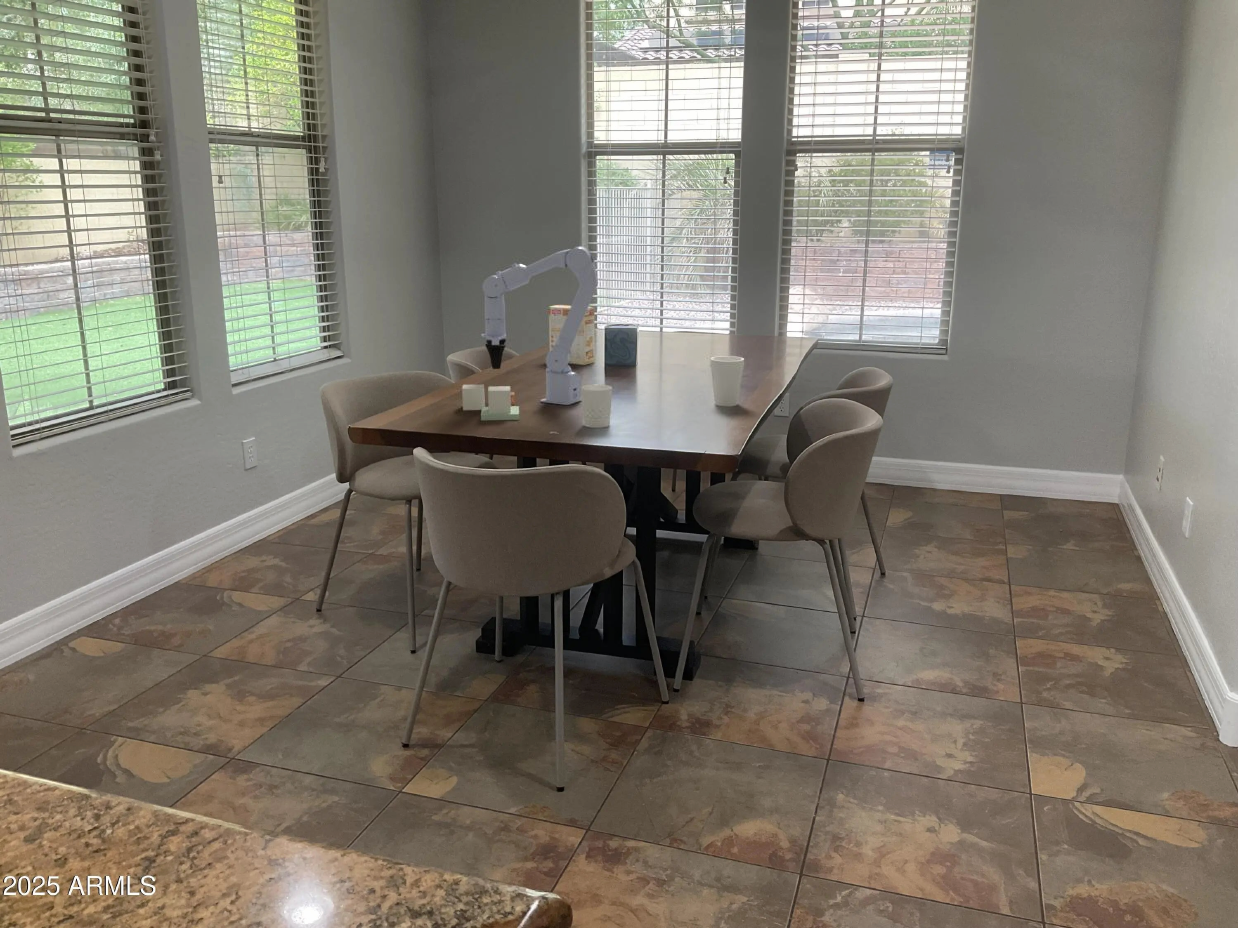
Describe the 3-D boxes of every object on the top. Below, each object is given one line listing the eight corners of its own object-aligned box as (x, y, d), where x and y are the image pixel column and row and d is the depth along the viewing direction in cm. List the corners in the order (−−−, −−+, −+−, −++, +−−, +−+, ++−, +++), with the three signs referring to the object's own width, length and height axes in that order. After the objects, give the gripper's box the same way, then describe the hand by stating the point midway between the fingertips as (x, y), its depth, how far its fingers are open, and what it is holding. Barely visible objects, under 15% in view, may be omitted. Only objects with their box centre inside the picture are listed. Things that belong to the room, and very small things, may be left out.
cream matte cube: (510, 407, 272) (510, 386, 271) (510, 412, 267) (510, 390, 265) (489, 408, 272) (488, 386, 270) (488, 413, 266) (488, 390, 264)
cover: (484, 405, 282) (484, 384, 281) (484, 409, 277) (483, 388, 275) (464, 405, 282) (463, 384, 280) (463, 410, 276) (462, 388, 275)
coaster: (518, 411, 275) (518, 406, 274) (519, 419, 265) (518, 414, 265) (482, 412, 274) (482, 406, 273) (481, 420, 264) (480, 414, 264)
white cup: (595, 420, 265) (594, 383, 262) (618, 424, 260) (618, 387, 257) (575, 425, 259) (574, 387, 256) (598, 430, 254) (598, 391, 251)
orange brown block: (514, 405, 282) (514, 392, 281) (514, 408, 279) (514, 394, 278) (500, 406, 282) (500, 392, 281) (500, 409, 278) (499, 395, 277)
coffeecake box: (595, 362, 351) (595, 306, 346) (584, 365, 346) (583, 308, 340) (560, 358, 359) (559, 304, 354) (549, 361, 353) (548, 306, 348)
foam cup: (716, 408, 279) (717, 362, 276) (704, 401, 288) (705, 356, 284) (747, 406, 282) (749, 360, 278) (735, 399, 290) (736, 355, 287)
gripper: (481, 315, 289) (483, 362, 293) (480, 322, 275) (481, 371, 279) (506, 315, 290) (507, 362, 294) (505, 322, 276) (507, 370, 280)
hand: (496, 366), depth 286 cm, fingers open, 7 cm apart
